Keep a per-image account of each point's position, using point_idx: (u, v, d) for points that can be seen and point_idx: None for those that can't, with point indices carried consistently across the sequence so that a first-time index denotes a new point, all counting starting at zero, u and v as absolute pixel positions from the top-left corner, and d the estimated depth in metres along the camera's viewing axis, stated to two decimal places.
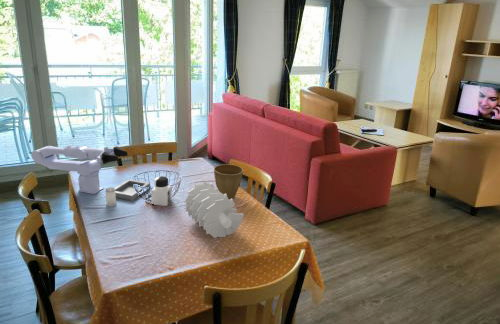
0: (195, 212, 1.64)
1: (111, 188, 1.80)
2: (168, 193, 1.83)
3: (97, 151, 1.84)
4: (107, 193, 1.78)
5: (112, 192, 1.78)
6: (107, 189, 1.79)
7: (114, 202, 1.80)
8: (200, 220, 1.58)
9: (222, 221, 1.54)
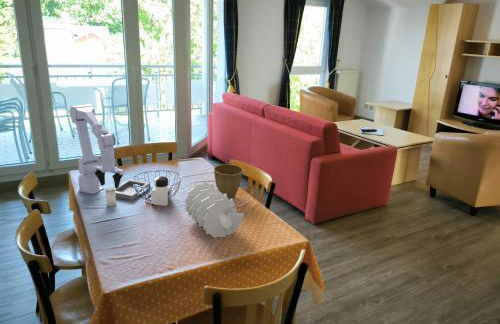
0: (195, 212, 1.64)
1: (111, 188, 1.80)
2: (168, 193, 1.83)
3: None
4: (107, 193, 1.78)
5: (112, 192, 1.78)
6: (107, 189, 1.79)
7: (114, 202, 1.80)
8: (200, 220, 1.58)
9: (222, 221, 1.54)
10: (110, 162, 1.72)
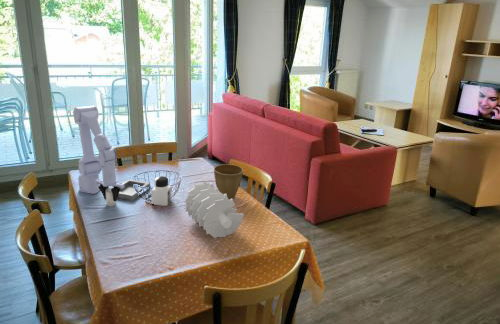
0: (195, 212, 1.64)
1: (111, 188, 1.80)
2: (168, 193, 1.83)
3: None
4: (107, 193, 1.78)
5: None
6: (107, 189, 1.79)
7: (114, 202, 1.80)
8: (200, 220, 1.58)
9: (222, 221, 1.54)
10: (111, 176, 1.75)
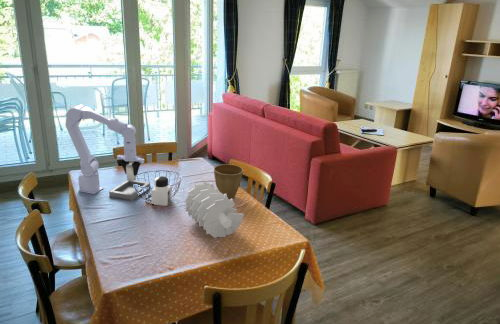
0: (195, 212, 1.64)
1: (131, 164, 1.92)
2: (168, 193, 1.83)
3: (124, 152, 1.88)
4: (127, 168, 1.90)
5: (132, 167, 1.90)
6: (127, 165, 1.91)
7: (134, 177, 1.93)
8: (200, 220, 1.58)
9: (222, 221, 1.54)
10: (132, 152, 1.87)
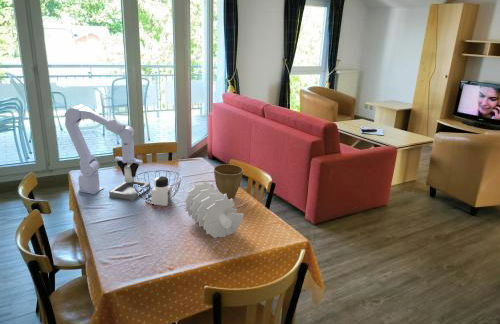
0: (195, 212, 1.64)
1: (129, 165, 1.91)
2: (168, 193, 1.83)
3: (122, 153, 1.86)
4: (126, 170, 1.88)
5: (130, 169, 1.89)
6: (125, 166, 1.89)
7: (132, 179, 1.91)
8: (200, 220, 1.58)
9: (222, 221, 1.54)
10: (130, 153, 1.86)
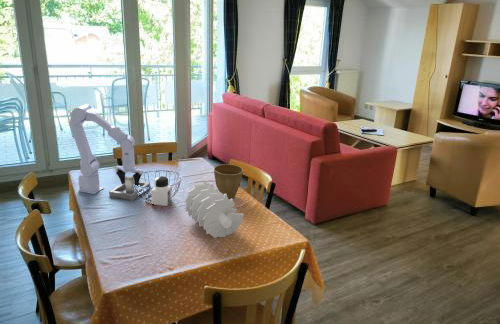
0: (195, 212, 1.64)
1: (130, 176, 1.93)
2: (168, 193, 1.83)
3: (123, 163, 1.88)
4: (127, 181, 1.91)
5: (131, 180, 1.91)
6: (126, 177, 1.92)
7: (133, 189, 1.93)
8: (200, 220, 1.58)
9: (222, 221, 1.54)
10: (131, 162, 1.87)
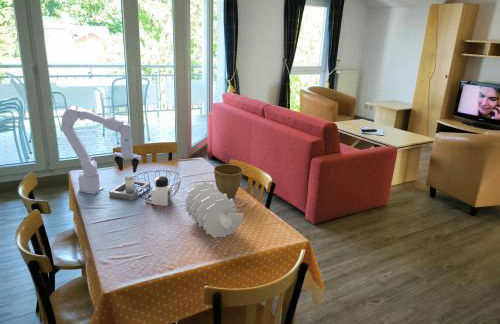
0: (195, 212, 1.64)
1: (130, 176, 1.93)
2: (168, 193, 1.83)
3: (121, 149, 1.92)
4: (126, 180, 1.91)
5: (131, 180, 1.91)
6: (126, 177, 1.92)
7: (133, 189, 1.94)
8: (200, 220, 1.58)
9: (222, 221, 1.54)
10: (129, 149, 1.91)
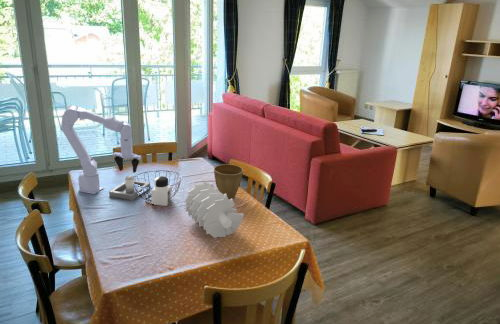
0: (195, 212, 1.64)
1: (130, 176, 1.93)
2: (168, 193, 1.83)
3: (121, 149, 1.92)
4: (127, 180, 1.91)
5: (131, 180, 1.91)
6: (127, 177, 1.92)
7: (133, 189, 1.94)
8: (200, 220, 1.58)
9: (222, 221, 1.54)
10: (129, 149, 1.91)
